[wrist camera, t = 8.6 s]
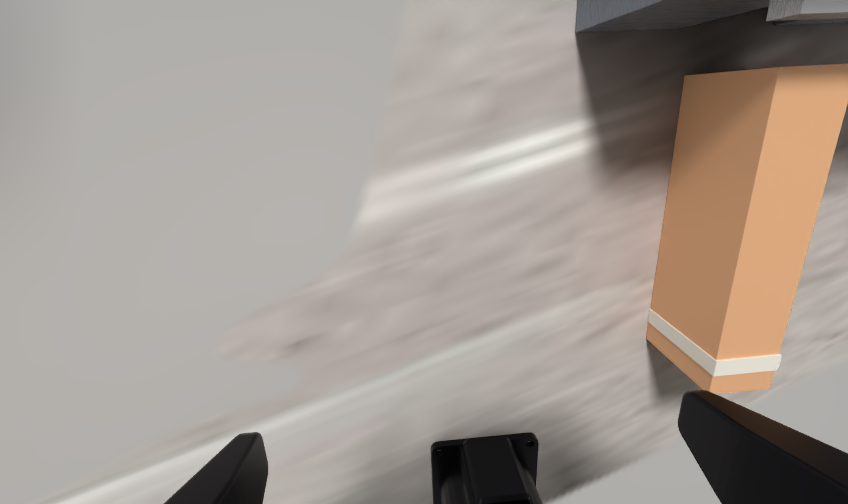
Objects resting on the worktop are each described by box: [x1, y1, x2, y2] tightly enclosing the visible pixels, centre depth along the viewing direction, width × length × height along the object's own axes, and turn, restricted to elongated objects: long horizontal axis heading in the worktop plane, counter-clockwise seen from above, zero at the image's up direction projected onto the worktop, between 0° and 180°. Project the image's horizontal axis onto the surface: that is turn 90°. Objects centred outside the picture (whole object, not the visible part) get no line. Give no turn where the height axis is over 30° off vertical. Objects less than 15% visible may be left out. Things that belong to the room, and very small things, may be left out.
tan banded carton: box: [646, 63, 848, 394], centre depth 20 cm, size 14×3×5 cm, turn 3°
